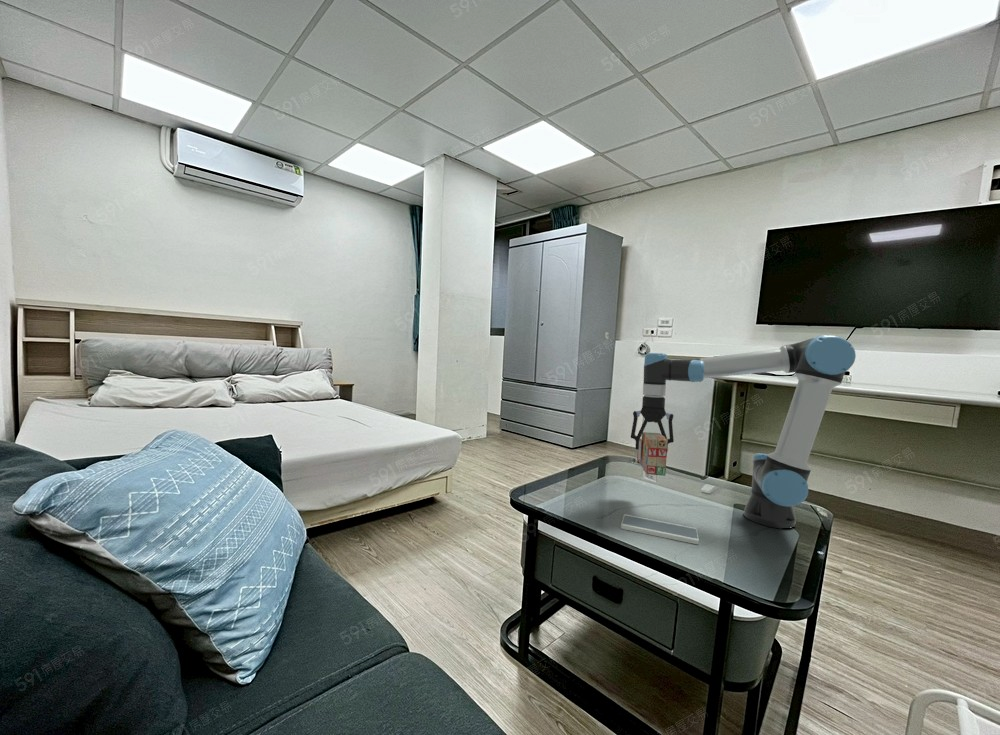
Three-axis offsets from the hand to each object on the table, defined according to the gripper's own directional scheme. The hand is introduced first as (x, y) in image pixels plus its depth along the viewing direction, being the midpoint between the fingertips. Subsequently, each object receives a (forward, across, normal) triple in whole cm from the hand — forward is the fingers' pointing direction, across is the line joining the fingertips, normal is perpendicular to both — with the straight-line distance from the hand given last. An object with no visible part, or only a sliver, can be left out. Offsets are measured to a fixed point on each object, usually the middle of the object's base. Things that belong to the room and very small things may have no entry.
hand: (650, 459), depth 145 cm
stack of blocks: (+3, 0, 0) cm, 3 cm away
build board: (+18, -4, +18) cm, 26 cm away
